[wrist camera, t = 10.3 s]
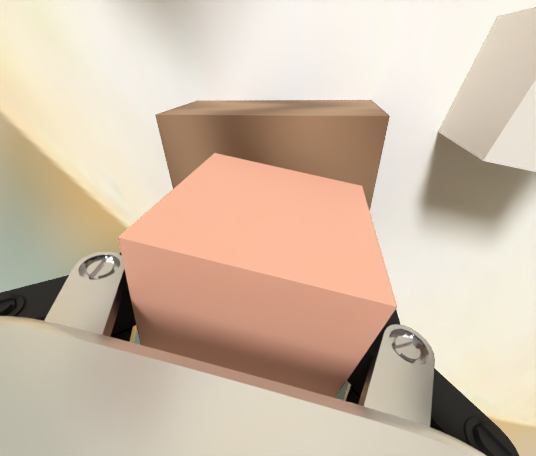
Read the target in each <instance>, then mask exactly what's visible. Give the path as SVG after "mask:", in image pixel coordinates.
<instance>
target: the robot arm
mask: <svg viewBox="0 0 536 456" xmlns="http://www.w3.org/2000/svg"><path fill="white" fill-rule="evenodd" d="M136 330H137V326H136V321H135V316H134V312H133V307H132V302H131V297H130V293H129V288H128V283H127V278H126V273H125V269H124V264H123V259H122V254H121V253H120V254H117V253H115V252H98V253H94V254H91V255H89V256H86V257H84V258H82V259H81V260H80V261H78V262H77V263H76V265H75V266H74V267H73V269H72V271H71V273H70V274H69V275H68V276H64V277H60V278H56V279H53V280H48V281H44V282H41V283H37V284H33V285H29V286H25V287H21V288H18V289H13V290H10V291H5V292H1V293H0V456H519V454H518V452H517V450H516V448H515V447H514V445H513V444H512V442H511V441H510V440H509V438H508V437H507V436H506V435H505V434H504V433H503V432H502V430H501V429H500V428H499V427H498V426H497V425H495V423H493V422H492V421H491V420H490V419H489V418H488V417H487V416H486V415H485V414H484V413H483V412H481V411H480V410H479V409H478V408H477V407H476V406H475V405H474V404H473V403H472V402H471V401H469V400H468V399H467V398H466V397H465V396H464V395H463V394H462V393H461V392H460V391H459V390H457V389H456V388H455V387H454V386H453V385H452V384H451V383H450V382H449V381H448V380H447V379H445V378H444V377H443V376H442V375H441V374H440V373H439V372H438V371H437V370H436V369H435V368H434V364H435V358H434V353H433V351H432V348H431V346H430V345H429V344H428V342H427V341H426V340H425V339H424V338H423V337H422V336H421V335H420V334H419V333H417V332H416V331H414V330H413V329H411V328H409V327H407V326H404V325H400V322H399V318H398V315H397V311H396V309H395V311H394V312H393V314H392V315H391V317H390V318H389V320H388V321H387V322H386V324H385V325H384V327H383V328H382V330H381V331H380V333H379V334H378V336H377V337H376V339H375V340H374V341H373V343H372V344H371V346H370V347H369V349H368V350H367V352H366V353H365V355H364V356H363V358H362V359H361V361H360V362H359V363H358V365H357V366H356V368H355V369H354V371H353V372H352V374H351V375H350V377H349V378H348V380H347V381H348V382H349V384H348V387H347V390H346V393H345V396H344V398H343V400H340V399H336V398H333V397H329V396H325V395H322V394H318V393H315V392H311V391H308V390H304V389H300V388H297V387H293V386H290V385H286V384H282V383H279V382H275V381H272V380H268V379H264V378H261V377H257V376H253V375H250V374H246V373H242V372H239V371H235V370H231V369H228V368H224V367H221V366H217V365H213V364H209V363H206V362H202V361H198V360H195V359H191V358H187V357H184V356H180V355H176V354H173V353H169V352H165V351H161V350H158V349H154V348H150V347H146V346H143V345H139V344H135V343H134V339H135V334H136Z"/></svg>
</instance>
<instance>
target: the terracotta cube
mask: <svg viewBox="0 0 536 456" xmlns="http://www.w3.org/2000/svg"><path fill="white" fill-rule="evenodd" d="M118 240H119V245H120V250H121V254H122V259H123V264H124V269H125V273H126V278H127V283H128V288H129V293H130V297H131V302H132V307H133V312H134V316H135V321H136V326H137V330H138V335H139V340H140V345H143V346H146V347H150V348H154V349H158V350H161V351H165V352H169V353H173V354H176V355H180V356H184V357H187V358H191V359H195V360H198V361H202V362H206V363H209V364H213V365H217V366H221V367H224V368H228V369H231V370H235V371H239V372H242V373H246V374H250V375H253V376H257V377H261V378H264V379H268V380H272V381H275V382H279V383H282V384H286V385H290V386H293V387H297V388H300V389H304V390H308V391H311V392H315V393H318V394H322V395H325V396H329V397H333V398H335V397H336V396H337V394H338V393H339V391H340V390H341V388H342V387H343V385H344V384H345V382H346V381H347V380H348V378H349V377H350V375H351V374H352V372H353V371H354V369H355V368H356V366H357V365H358V363H359V362H360V361H361V359H362V358H363V356H364V355H365V353H366V352H367V350H368V349H369V347H370V346H371V344H372V343H373V341H374V340H375V339H376V337H377V336H378V334H379V333H380V331H381V330H382V328H383V327H384V325H385V324H386V322H387V321H388V320H389V318H390V317H391V315H392V314H393V312H394V311H395V309H396V308H397V305H396V301H395V298H394V294H393V291H392V287H391V284H390V281H389V277H388V274H387V270H386V267H385V263H384V260H383V256H382V253H381V249H380V246H379V243H378V239H377V236H376V232H375V229H374V225H373V222H372V218H371V215H370V211H369V208H368V205H367V201H366V198H365V194H364V191H363V187H362V186H360V185H356V184H351V183H347V182H343V181H338V180H334V179H329V178H325V177H320V176H316V175H311V174H307V173H302V172H298V171H293V170H289V169H284V168H280V167H275V166H271V165H266V164H262V163H257V162H253V161H248V160H244V159H239V158H235V157H231V156H226V155H222V154H217V153H214V154H213V155H212V156H211V157H209V158H208V159H207V160H206V161H205V162H204V163H203V164H201V165H200V166H199V167H198V168H197V169H196V170H195V171H193V172H192V173H191V174H190V175H189V176H188V177H187V178H185V179H184V180H183V181H182V182H181V183H180V184H179V185H177V186H176V187H175V188H174V189H173V190H172V191H171V192H169V193H168V194H167V195H166V196H165V197H164V198H162V199H161V200H160V201H159V202H158V203H157V204H156V205H154V206H153V207H152V208H151V209H150V210H149V211H148V212H146V213H145V214H144V215H143V216H142V217H141V218H140V219H138V220H137V221H136V222H135V223H134V224H133V225H132V226H130V227H129V228H128V229H127V230H126V231H125V232H124V233H122V234H121V235H120V236H119V237H118Z"/></svg>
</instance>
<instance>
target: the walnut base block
mask: <svg viewBox="0 0 536 456" xmlns="http://www.w3.org/2000/svg"><path fill="white" fill-rule="evenodd" d="M156 119H157V123H158V128H159V132H160V136H161V140H162V144H163V148H164V153H165V157H166V161H167V165H168V169H169V174H170V178H171V182H172V186H173V189H174V188H175V187H176V186H177V185H179V184H180V183H181V182H182V181H183V180H184V179H185V178H187V177H188V176H189V175H190V174H191V173H192V172H193V171H195V170H196V169H197V168H198V167H199V166H200V165H201V164H203V163H204V162H205V161H206V160H207V159H208V158H209V157H211V156H212V155H213V154H214V153H217V154H222V155H226V156H231V157H235V158H239V159H244V160H248V161H253V162H257V163H262V164H266V165H271V166H275V167H280V168H284V169H289V170H293V171H298V172H302V173H307V174H311V175H316V176H320V177H325V178H329V179H334V180H338V181H343V182H347V183H351V184H356V185H360V186H362V187H363V191H364V194H365V198H366V201H367V205H368V208H369V211H370V206H371V202H372V197H373V192H374V187H375V183H376V178H377V173H378V168H379V164H380V159H381V154H382V149H383V145H384V140H385V135H386V131H387V126H388V121H389V115H388V114H387V113H386V112H384V111H383V110H382V109H381V108H380V107H379V106H377V105H376V104H375V103H374V102H373V101H372V100H285V101H195V102H192V103H189V104H186V105H183V106H180V107H177V108H174V109H171V110H168V111H165V112H162V113H159V114H156Z"/></svg>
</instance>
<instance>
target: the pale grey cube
mask: <svg viewBox="0 0 536 456" xmlns="http://www.w3.org/2000/svg"><path fill="white" fill-rule="evenodd" d="M438 132H439V133H441V134H442V135H444V136H445V137H447V138H448V139H450V140H451V141H453V142H454V143H456V144H458V145H459V146H461V147H462V148H464V149H465V150H467V151H468V152H470V153H471V154H473V155H474V156H476V157H478V158H479V159H481V160H482V161H485V162H490V163H495V164H500V165H505V166H509V167H514V168H519V169H524V170H528V171H533V172H536V7H535V8H531V9H527V10H522V11H518V12H514V13H510V14H506V15H501V16H497V18H496V20H495V22H494V24H493V26H492V28H491V30H490V31H489V33H488V35H487V37H486V39H485V41H484V43H483V45H482V47H481V49H480V51H479V53H478V55H477V57H476V59H475V61H474V63H473V65H472V67H471V68H470V70H469V72H468V74H467V76H466V78H465V80H464V82H463V84H462V86H461V88H460V90H459V92H458V94H457V96H456V98H455V100H454V102H453V104H452V105H451V107H450V109H449V111H448V113H447V115H446V117H445V119H444V121H443V123H442V125H441V127H440V129H439V131H438Z"/></svg>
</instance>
